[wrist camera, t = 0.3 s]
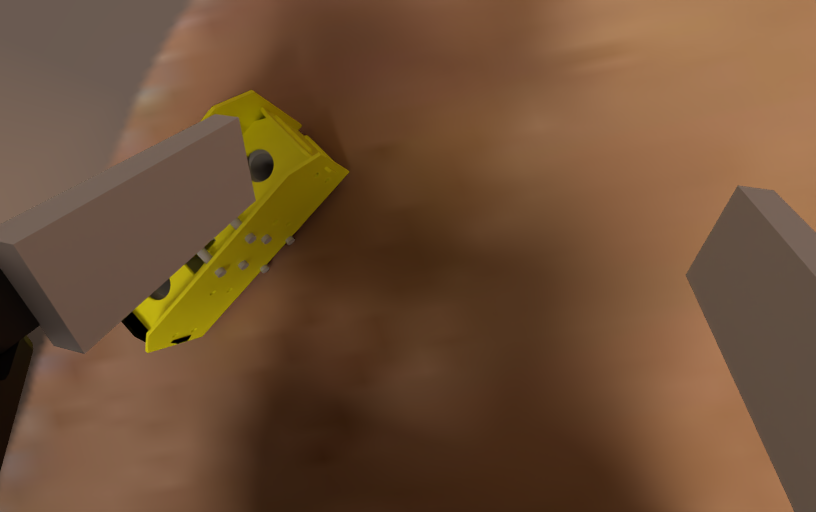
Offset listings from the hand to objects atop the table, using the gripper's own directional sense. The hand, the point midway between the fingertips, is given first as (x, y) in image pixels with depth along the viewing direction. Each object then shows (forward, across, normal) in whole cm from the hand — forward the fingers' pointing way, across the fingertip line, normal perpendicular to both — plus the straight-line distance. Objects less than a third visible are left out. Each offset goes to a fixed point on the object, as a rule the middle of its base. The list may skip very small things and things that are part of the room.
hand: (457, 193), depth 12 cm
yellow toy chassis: (+12, +15, +12) cm, 22 cm away
